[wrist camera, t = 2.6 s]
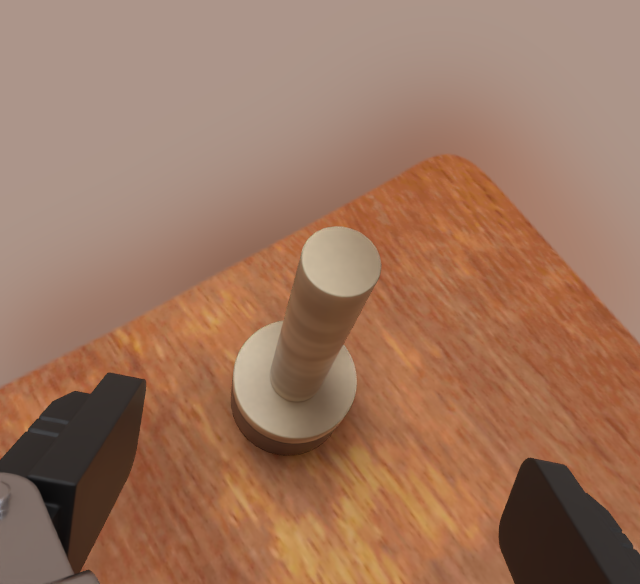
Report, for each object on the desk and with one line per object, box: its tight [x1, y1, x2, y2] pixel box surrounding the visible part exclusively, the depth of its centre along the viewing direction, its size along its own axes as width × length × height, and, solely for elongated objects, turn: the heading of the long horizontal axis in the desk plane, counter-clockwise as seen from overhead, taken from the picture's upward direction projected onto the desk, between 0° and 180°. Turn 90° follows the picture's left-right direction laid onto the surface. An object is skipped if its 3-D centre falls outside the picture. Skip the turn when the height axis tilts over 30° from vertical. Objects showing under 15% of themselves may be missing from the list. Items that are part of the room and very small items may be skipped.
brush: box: [231, 227, 381, 455], centre depth 24 cm, size 6×6×14 cm
